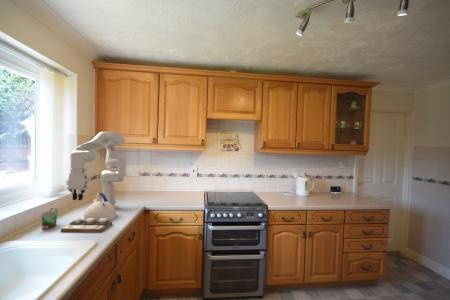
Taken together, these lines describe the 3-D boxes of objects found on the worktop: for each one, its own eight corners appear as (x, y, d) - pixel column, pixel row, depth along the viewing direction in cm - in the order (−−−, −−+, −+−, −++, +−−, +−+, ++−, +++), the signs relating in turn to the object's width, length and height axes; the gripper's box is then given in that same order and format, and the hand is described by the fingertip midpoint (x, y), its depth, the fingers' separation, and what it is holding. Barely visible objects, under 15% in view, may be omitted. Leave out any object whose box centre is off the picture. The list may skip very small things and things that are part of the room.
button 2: (101, 220, 140) (101, 217, 140) (107, 220, 140) (107, 218, 140) (98, 222, 136) (98, 220, 136) (104, 222, 136) (104, 220, 136)
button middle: (89, 220, 139) (89, 217, 139) (95, 220, 139) (95, 217, 139) (85, 222, 135) (85, 219, 135) (91, 222, 135) (91, 220, 135)
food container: (53, 229, 132) (53, 213, 132) (41, 230, 130) (41, 213, 130) (61, 222, 144) (62, 207, 144) (50, 223, 142) (51, 208, 142)
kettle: (108, 211, 169) (109, 188, 168) (121, 217, 156) (121, 192, 155) (78, 217, 153) (79, 192, 153) (89, 225, 140) (90, 197, 140)
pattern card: (68, 225, 133) (68, 224, 133) (104, 225, 134) (104, 225, 134) (62, 228, 128) (62, 227, 128) (99, 229, 129) (99, 228, 129)
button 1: (76, 220, 139) (76, 217, 139) (82, 220, 139) (82, 217, 139) (72, 222, 135) (72, 219, 135) (78, 222, 135) (78, 219, 135)
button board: (75, 223, 141) (75, 219, 141) (112, 224, 142) (112, 219, 142) (60, 231, 128) (60, 226, 128) (101, 232, 129) (101, 227, 129)
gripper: (94, 170, 141) (94, 198, 141) (69, 170, 140) (68, 198, 141) (87, 171, 133) (87, 201, 133) (60, 171, 133) (60, 201, 133)
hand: (77, 199), depth 137 cm, fingers open, 2 cm apart
